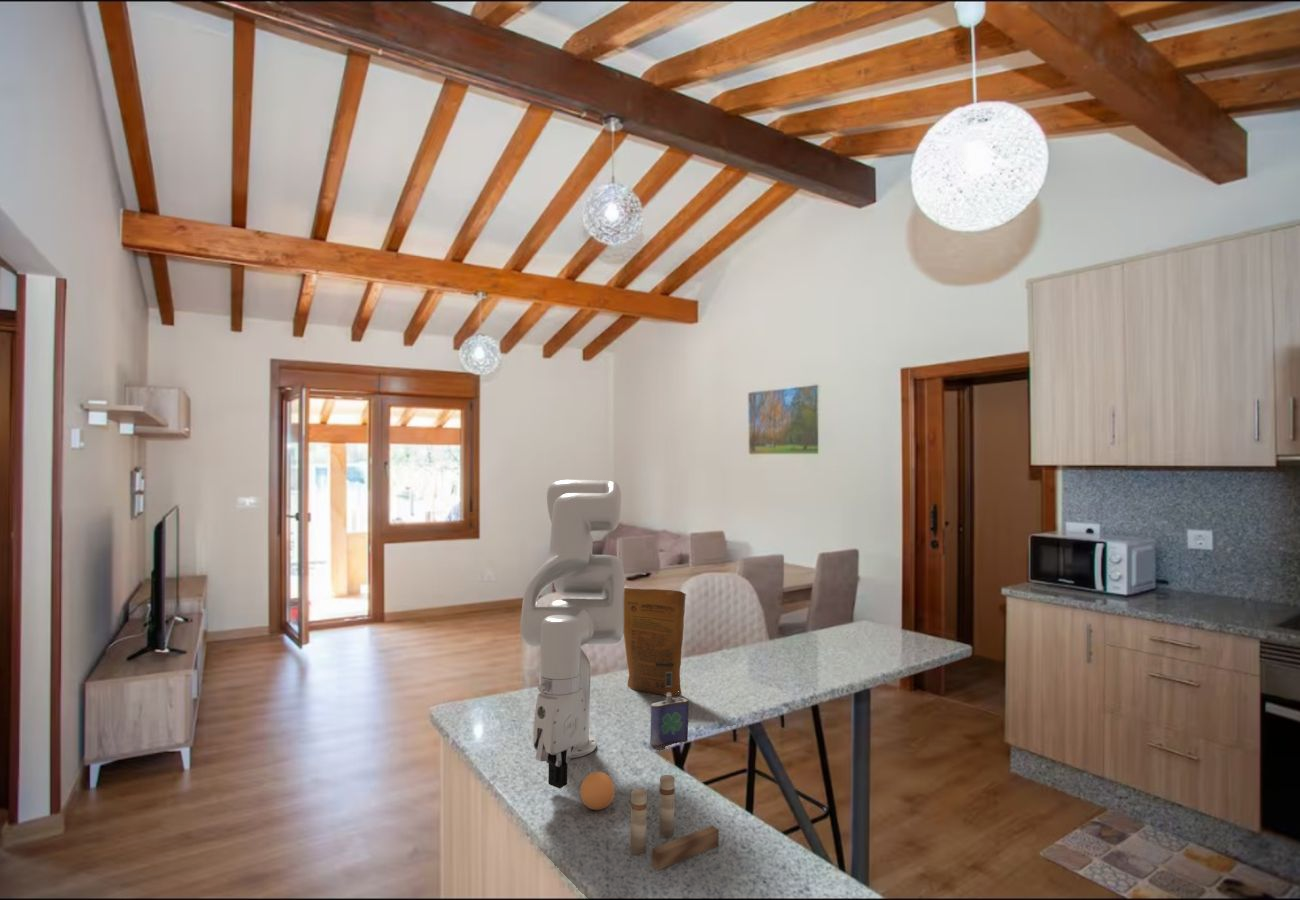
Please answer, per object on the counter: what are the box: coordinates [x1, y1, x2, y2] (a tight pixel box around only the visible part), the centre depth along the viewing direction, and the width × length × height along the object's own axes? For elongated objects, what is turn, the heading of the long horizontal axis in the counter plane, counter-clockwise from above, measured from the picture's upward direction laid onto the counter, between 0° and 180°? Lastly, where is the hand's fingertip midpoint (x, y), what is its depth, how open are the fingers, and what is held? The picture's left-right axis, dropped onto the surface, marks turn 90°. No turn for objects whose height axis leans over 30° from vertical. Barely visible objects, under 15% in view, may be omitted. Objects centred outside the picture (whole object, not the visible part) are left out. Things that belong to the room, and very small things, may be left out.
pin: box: [658, 774, 676, 839], centre depth 110 cm, size 2×2×9 cm
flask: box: [649, 692, 690, 748], centre depth 147 cm, size 9×3×11 cm, turn 117°
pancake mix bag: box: [623, 587, 687, 697], centre depth 182 cm, size 7×19×28 cm, turn 63°
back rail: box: [651, 824, 720, 871], centre depth 104 cm, size 12×2×2 cm, turn 125°
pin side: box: [629, 788, 648, 856], centre depth 105 cm, size 2×2×9 cm
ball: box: [580, 771, 615, 811], centre depth 118 cm, size 6×6×6 cm
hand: (557, 784), depth 123 cm, fingers closed
